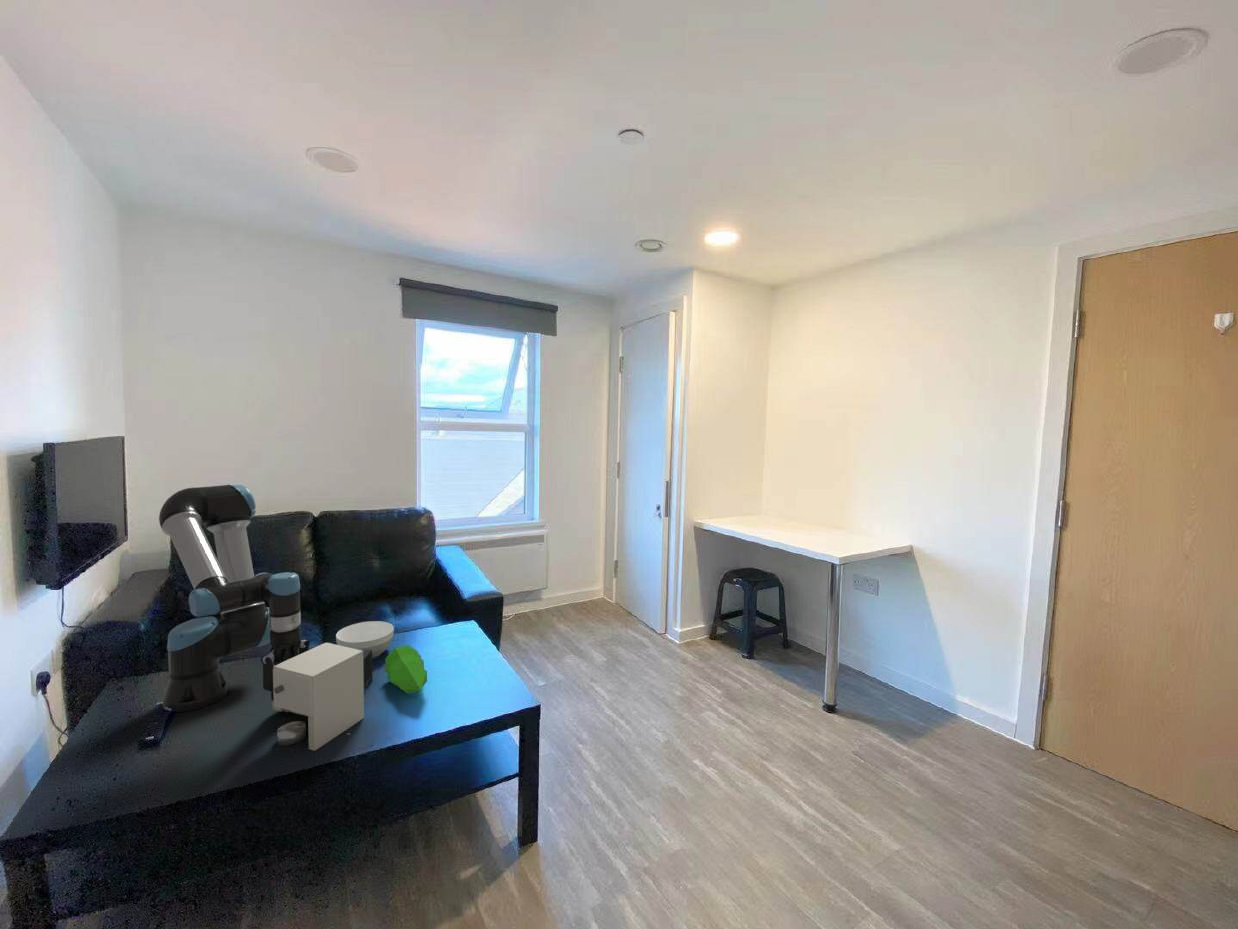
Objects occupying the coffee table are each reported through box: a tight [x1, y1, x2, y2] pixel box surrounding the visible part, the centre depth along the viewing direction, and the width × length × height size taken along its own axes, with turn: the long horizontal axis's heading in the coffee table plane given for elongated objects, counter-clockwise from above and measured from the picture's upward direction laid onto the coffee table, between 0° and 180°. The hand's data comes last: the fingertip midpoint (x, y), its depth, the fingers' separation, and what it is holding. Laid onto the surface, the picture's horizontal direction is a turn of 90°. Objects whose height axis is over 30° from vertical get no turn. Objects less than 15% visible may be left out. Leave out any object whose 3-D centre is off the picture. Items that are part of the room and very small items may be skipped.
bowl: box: [335, 620, 394, 659], centre depth 187 cm, size 19×19×9 cm
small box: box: [362, 650, 374, 690], centre depth 166 cm, size 11×6×10 cm, turn 92°
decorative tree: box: [384, 644, 428, 695], centre depth 165 cm, size 11×12×30 cm
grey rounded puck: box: [276, 720, 307, 747], centre depth 138 cm, size 6×6×3 cm
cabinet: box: [273, 642, 365, 752], centre depth 141 cm, size 14×18×20 cm
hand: (287, 704), depth 150 cm, fingers closed on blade, 5 cm apart
